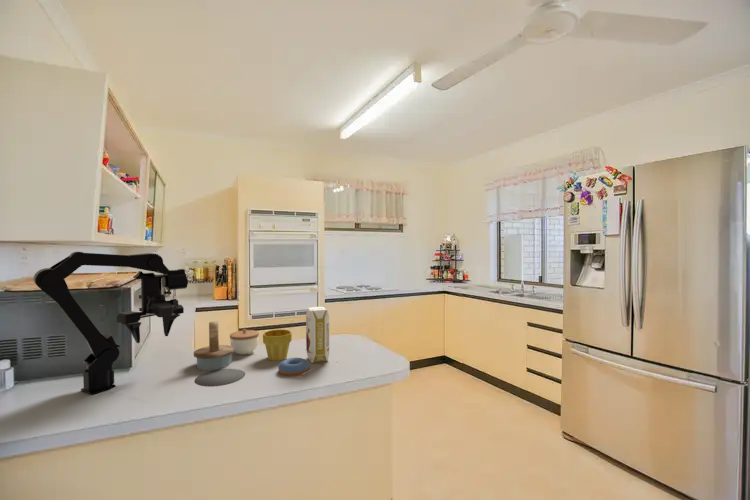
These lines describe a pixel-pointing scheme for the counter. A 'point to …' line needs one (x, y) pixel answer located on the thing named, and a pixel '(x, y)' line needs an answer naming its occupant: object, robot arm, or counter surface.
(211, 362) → the ceramic bowl
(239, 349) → the lidded jar
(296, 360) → the doughnut
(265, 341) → the plant pot
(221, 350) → the walnut lid
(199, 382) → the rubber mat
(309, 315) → the juice carton
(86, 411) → the counter surface
